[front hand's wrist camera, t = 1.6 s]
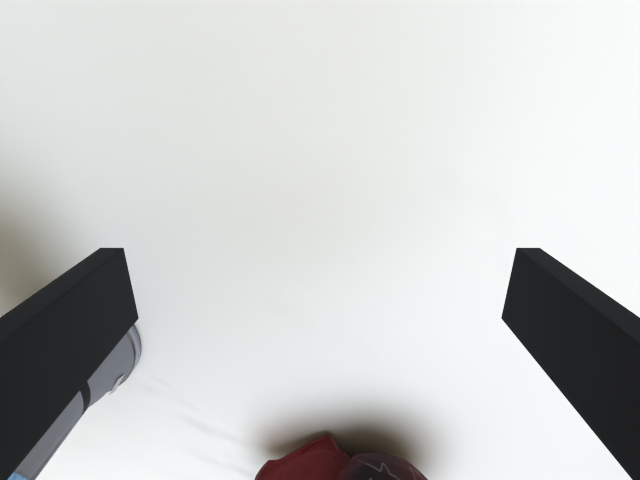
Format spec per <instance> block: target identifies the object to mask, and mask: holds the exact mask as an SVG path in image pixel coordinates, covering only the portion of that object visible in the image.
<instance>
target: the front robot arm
mask: <svg viewBox="0 0 640 480" xmlns="http://www.w3.org/2000/svg"><path fill="white" fill-rule="evenodd" d="M137 319H138V313H137V309H136V304H135V299H134V295H133V290H132V286H131V281H130V276H129V272H128V267H127V263H126V258H125V253H124V249H123V248H100V249H98V250H97V251H95V252H94V253H92V254H91V255H90V256H88V257H87V258H85V259H84V260H82V261H81V262H80V263H78V264H77V265H75V266H74V267H72V268H71V269H70V270H68V271H67V272H65V273H64V274H62V275H61V276H60V277H58V278H57V279H55V280H54V281H52V282H51V283H49V284H48V285H47V286H45V287H44V288H42V289H41V290H39V291H38V292H37V293H35V294H34V295H32V296H31V297H29V298H28V299H27V300H25V301H24V302H22V303H21V304H19V305H18V306H17V307H15V308H14V309H12V310H11V311H9V312H8V313H6V314H5V315H4V316H2V317H1V318H0V480H35V479H36V478H37V476H38V475H39V473H40V472H41V471H42V469H43V468H44V467H45V465H46V464H47V463H48V461H49V460H50V459H51V457H52V456H53V454H54V453H55V452H56V450H57V449H58V448H59V446H60V445H61V444H62V442H63V441H64V440H65V438H66V437H67V435H68V434H69V433H70V431H71V430H72V429H73V427H74V426H75V425H76V423H77V422H78V421H79V419H80V418H81V416H82V415H83V414H84V412H85V411H86V410H87V408H88V407H90V406H91V405H92V404H94V403H95V402H96V401H98V400H99V399H100V398H101V397H102V396H104V395H105V394H106V393H107V392H109V391H111V390H112V391H111V392H110V394H111V393H113V392H114V391H115V390H116V389H117V387H118V386H119V385H120V384H122V383H123V382H124V381H125V380H126V379H127V378H128V377H129V375H130V374H131V372H132V371H133V369H134V368H135V366H136V365H137V363H138V361H139V358H140V353H141V344H140V339H139V335H138V333H137V331H136V328H135V327H134V325H133V324H134V323H135V322H136V321H137ZM502 320H503V321H504V322H505V323H506V324H507V326H508V327H509V328H510V329H511V331H512V332H513V333H514V334H515V336H516V337H517V338H518V339H519V340H520V342H521V343H522V344H523V345H524V347H525V348H526V349H527V350H528V352H529V353H530V354H531V355H532V356H533V358H534V359H535V360H536V361H537V363H538V364H539V365H540V366H541V368H542V369H543V370H544V371H545V372H546V374H547V375H548V376H549V377H550V379H551V380H552V381H553V382H554V384H555V385H556V386H557V387H558V388H559V390H560V391H561V392H562V393H563V395H564V396H565V397H566V398H567V400H568V401H569V402H570V403H571V404H572V406H573V407H574V408H575V409H576V411H577V412H578V413H579V414H580V416H581V417H582V418H583V419H584V420H585V422H586V423H587V424H588V425H589V427H590V428H591V429H592V430H593V432H594V433H595V434H596V435H597V436H598V438H599V439H600V440H601V441H602V443H603V444H604V445H605V446H606V448H607V449H608V450H609V451H610V452H611V454H612V455H613V456H614V457H615V459H616V460H617V461H618V462H619V464H620V465H621V466H622V467H623V468H624V470H625V471H626V472H627V473H628V475H629V476H630V477H631V478H632V480H640V318H639V317H638V316H636V315H635V314H634V313H632V312H631V311H629V310H628V309H626V308H625V307H623V306H622V305H621V304H619V303H618V302H616V301H615V300H613V299H612V298H611V297H609V296H608V295H606V294H605V293H603V292H602V291H601V290H599V289H598V288H596V287H595V286H593V285H592V284H591V283H589V282H588V281H586V280H585V279H583V278H582V277H580V276H579V275H578V274H576V273H575V272H573V271H572V270H570V269H569V268H568V267H566V266H565V265H563V264H562V263H560V262H559V261H558V260H556V259H555V258H553V257H552V256H550V255H549V254H547V253H546V252H545V251H543V250H542V249H540V248H517V249H516V253H515V258H514V262H513V267H512V272H511V276H510V281H509V286H508V290H507V295H506V299H505V304H504V309H503V313H502ZM110 394H109V395H110Z"/></svg>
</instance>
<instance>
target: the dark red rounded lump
mask: <svg viewBox="0 0 640 480" xmlns="http://www.w3.org/2000/svg"><path fill="white" fill-rule="evenodd" d="M255 480H428V479H427V478H426V477H425V476H424V475H423V474H422V473H420V472H419V471H418V470H417V469H416V468H415V467H414V466H413V465H411V464H410V463H409V462H408V461H406V460H404V459H402V458H399V457H395V456H390V455H385V454H380V453H360V454H356V455H354V456H353V457H352V458H351V459H350V457H349V456H348V455H347V454H346V453H345V452H344V451H342V450H341V449H340V448H339V447H338V445H337V444H336V443H335V441H334V439H333V437H332V436H331V435H330V434H326V435H324V436H322V437H320V438H318V439H316V440H313V441H312V442H310V443H308V444H306V445H304V446H303V447H301V448H299V449H297V450H295V451H293V452H291V453H289V454H288V455H286V456H285V457H283V458H281V459H278V460H268V461H267V462H266V463H265V464H264V466H263V467H262V468H261V469H260V471H259V472H258V474H257V475H256V478H255Z"/></svg>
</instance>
